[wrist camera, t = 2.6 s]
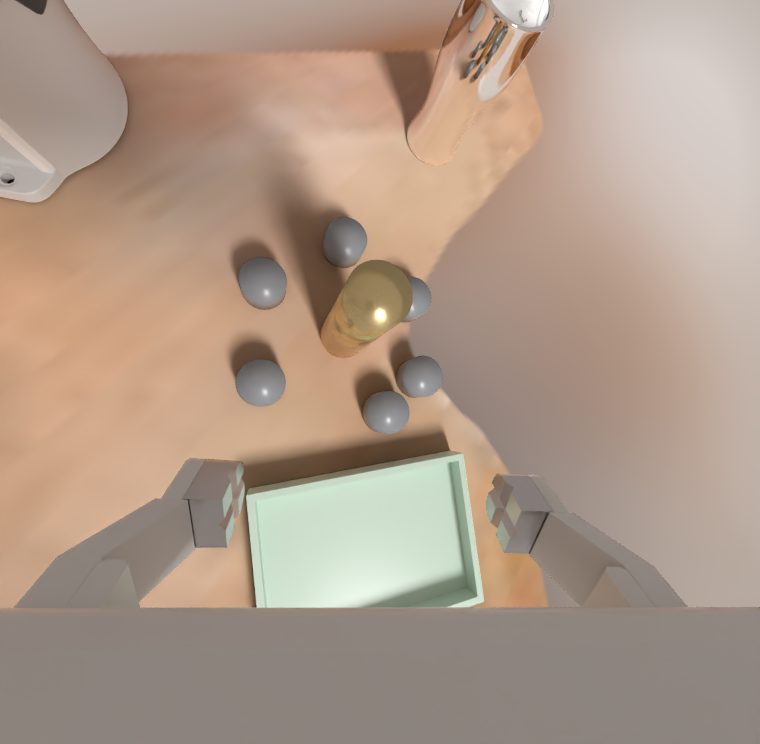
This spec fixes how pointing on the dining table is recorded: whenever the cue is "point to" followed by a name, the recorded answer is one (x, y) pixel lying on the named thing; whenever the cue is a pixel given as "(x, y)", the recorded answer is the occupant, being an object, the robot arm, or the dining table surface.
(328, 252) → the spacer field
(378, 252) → the dining table surface
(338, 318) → the gold metal cylinder
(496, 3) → the beer glass
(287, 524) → the tray
